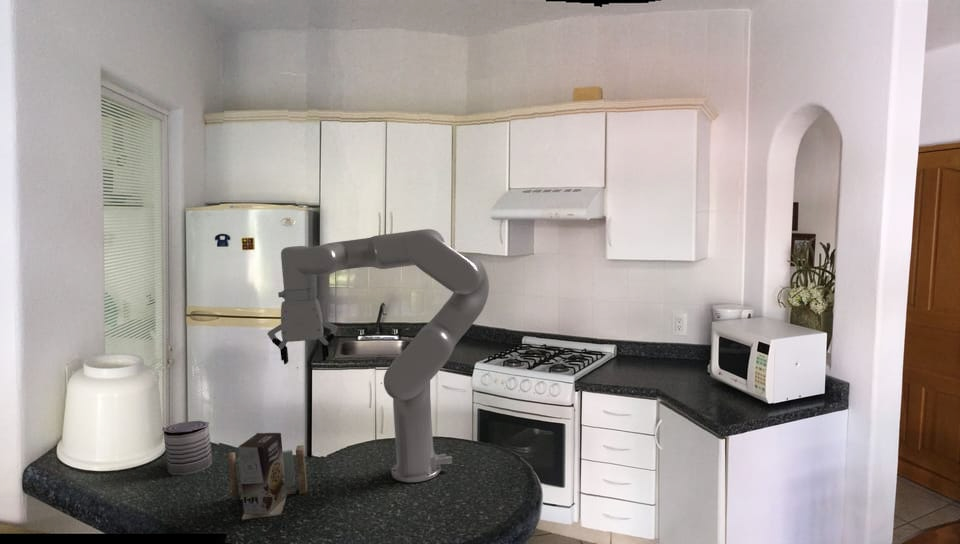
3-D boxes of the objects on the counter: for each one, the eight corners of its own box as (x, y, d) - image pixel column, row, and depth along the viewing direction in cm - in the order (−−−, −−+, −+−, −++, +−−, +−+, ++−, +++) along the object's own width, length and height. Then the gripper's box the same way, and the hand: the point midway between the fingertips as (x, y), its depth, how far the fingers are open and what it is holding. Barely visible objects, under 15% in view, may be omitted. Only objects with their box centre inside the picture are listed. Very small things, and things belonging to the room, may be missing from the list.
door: (241, 494, 155) (238, 459, 154) (242, 492, 156) (238, 457, 155) (295, 486, 158) (292, 451, 157) (295, 483, 160) (292, 449, 159)
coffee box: (269, 515, 145) (262, 447, 143) (243, 514, 147) (236, 446, 145) (287, 496, 154) (282, 432, 152) (263, 495, 155) (257, 431, 154)
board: (287, 495, 156) (286, 493, 156) (280, 514, 146) (280, 513, 146) (250, 499, 155) (250, 497, 155) (242, 519, 145) (241, 517, 145)
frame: (307, 487, 160) (303, 443, 158) (306, 492, 157) (302, 448, 155) (233, 496, 157) (229, 451, 156) (231, 501, 154) (226, 456, 153)
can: (158, 471, 174) (153, 429, 173) (194, 455, 184) (190, 415, 183) (185, 478, 169) (180, 434, 167) (221, 461, 179) (217, 420, 177)
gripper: (261, 300, 157) (268, 368, 159) (334, 294, 159) (339, 361, 161) (267, 295, 164) (273, 360, 166) (335, 290, 167) (340, 354, 169)
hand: (305, 361), depth 164 cm, fingers open, 9 cm apart
